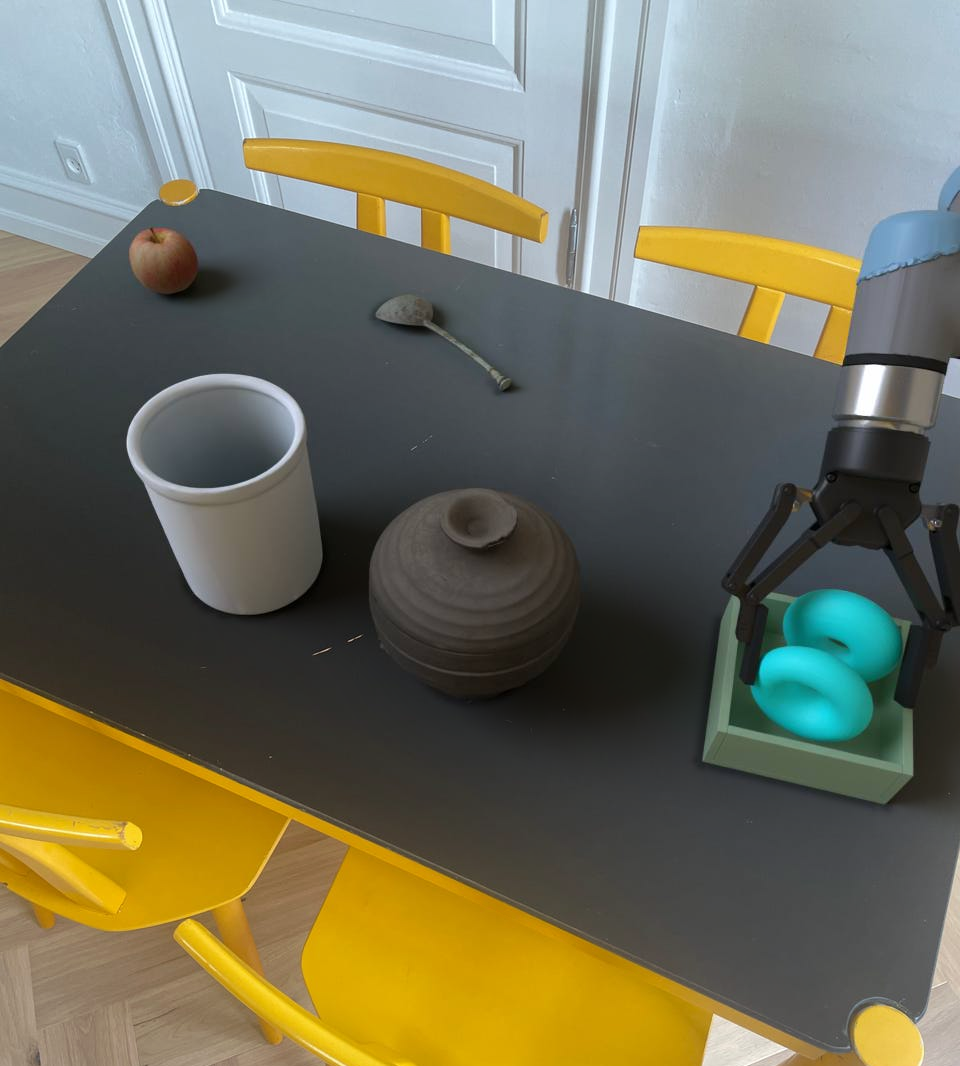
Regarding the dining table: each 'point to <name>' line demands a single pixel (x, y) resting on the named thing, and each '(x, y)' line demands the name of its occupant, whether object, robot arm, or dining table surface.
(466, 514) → the pot
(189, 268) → the apple
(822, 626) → the donuts
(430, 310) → the soupspoon
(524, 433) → the dining table surface
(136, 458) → the utensil holder
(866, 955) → the dining table surface
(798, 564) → the robot arm
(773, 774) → the bin
